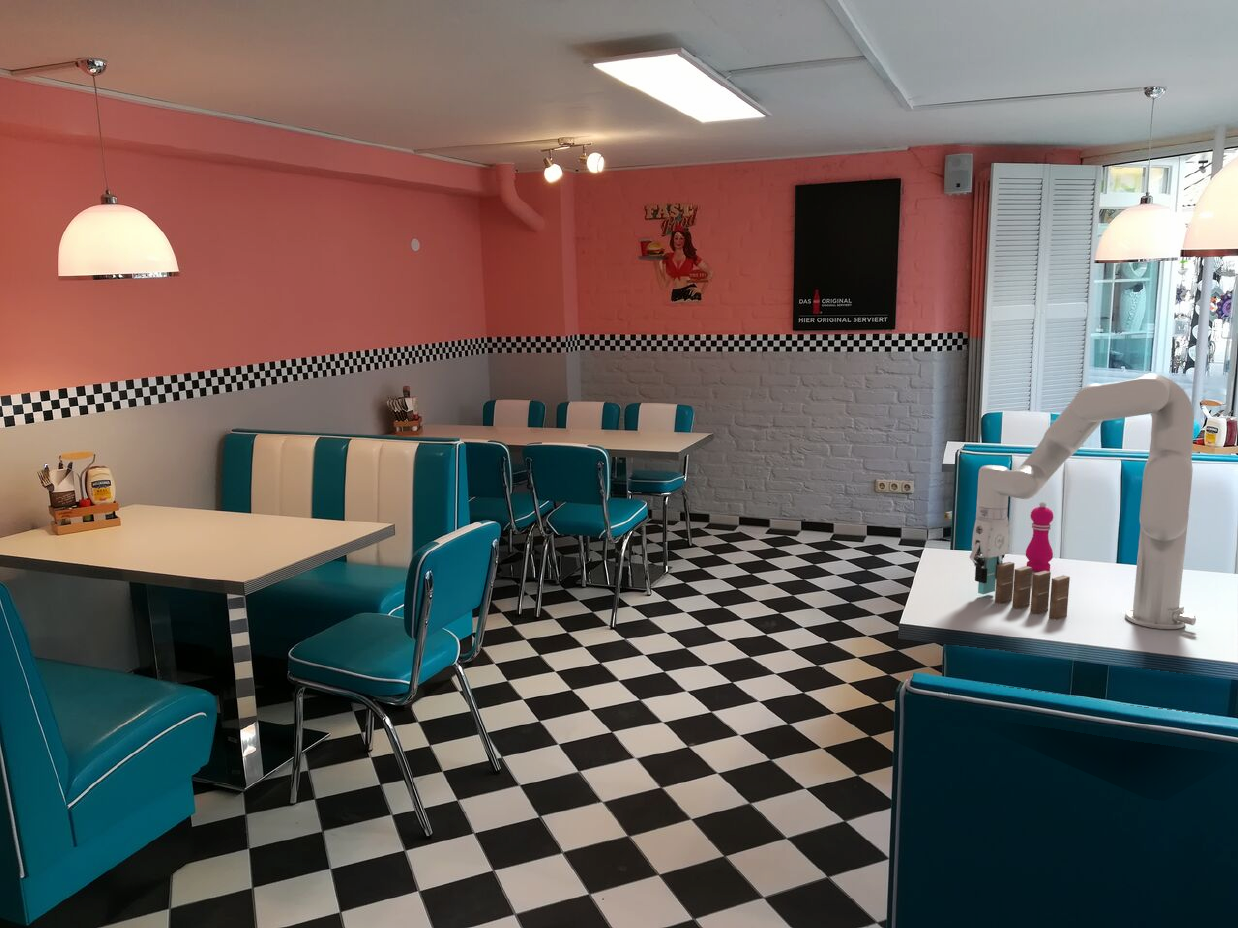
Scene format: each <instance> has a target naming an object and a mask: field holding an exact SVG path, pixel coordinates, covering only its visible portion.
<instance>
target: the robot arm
mask: <svg viewBox="0 0 1238 928" xmlns="http://www.w3.org/2000/svg"><path fill="white" fill-rule="evenodd" d="M1149 414H1150V416H1151V428H1150V430H1151V431H1150V443H1149V444H1150V445H1149V453H1148V458H1147V461H1146V463H1145V466H1144V468H1143V475H1142V476H1143V477H1142V488H1141V499H1140V507H1139V508H1140V510H1139V524H1140V530H1139V539H1138V551H1137V558H1136V559H1137V561H1136V569H1135V570H1136V571H1135V583H1134V592H1133V593H1134V594H1133V604H1132V608H1130V609H1128V610H1127V609H1126V611H1125V614H1124V617H1125V618H1126V620H1128V622H1131V623H1133V624H1136V625H1138V626H1143V627H1146V628H1151V629H1158V630H1178V629H1182V628H1184V627H1185V626H1186V625H1190V626H1195V625H1196V621H1197V619H1196V615H1195V614H1191V613H1186V612H1185V610H1184V608H1185V607H1184V605H1180V602H1181V593H1182V584H1183V580H1182V579H1183V572H1184V562H1185V553H1186V542H1187V534H1188V523H1189V514H1190V513H1189V510H1190V505H1191V504H1190V502H1191V501H1190V500H1191V493H1192V483H1193V481H1192V480H1193V462H1192V459H1193V458H1192V456H1193V455H1192V454H1193V446H1194V445H1193V444H1194V430H1195V429H1194V426H1195V425H1194V423H1195V418H1194V417H1195V415H1194V408H1193V405H1192V402H1191V400H1190V397H1189V395H1188V394H1187V393H1186V391H1185V390H1184V389H1183V388H1182V386H1180V384H1178V383H1176V382H1175V381H1173V380H1172V379H1170V378H1169V377H1166V376H1164V375H1162V374H1158V373H1146V374H1142V375H1141V376H1139V377H1137V378H1133V379H1127V380H1122V381H1117V382H1112V383H1106V384H1102V383H1090V384H1088V385H1085V386H1084V387H1083V388H1081V389H1080V390H1079V391H1077V393H1076V394H1075V396H1074V398H1073V399H1072V400H1071V401H1070V402H1069V404H1068V405H1067V406H1066V407H1065V409H1064V410H1062V412H1061V413H1060V414H1059V415H1058V417H1057V418H1055V420H1054V421H1053V422H1052V423H1051V424H1050V425H1049V427H1048V428H1047V429H1046V430H1045V433H1044V434H1043V437H1042V439H1041V440H1040V442H1039V444H1038V445H1037V446H1036V447H1035V448H1034V449H1033V451H1032V452H1031V453H1030V455H1029V456H1028V457H1027V458H1026V459H1025V460H1024V461H1023V462H1022V464H1021V465H1020V466H1019V467H1018V468H1017V469H1014V470H1013V469H1011V470H1010V469H1009V468H1008V467H1006V466H1003V465H998V464H997V465H995V464H993V465H992V464H988V465H987V464H986V465H982V466H981V467H980V468H979V470H978V478H977V491H976V492H977V493H976V495H977V496H976V497H977V498H976V512H975V521H974V526H973V531H972V540H971V553H970V555H969V559H970V560H971V561H972V562H973V565H974V567H975V570H974V571H975V573H974V581H975V582H978V583H979V582H981V583H987V570H988V569H987V568H986V565H987V561H988V559H989V558H994V557H997V565H998V564H1002V563H1004V561H1003V559H1004V558H1005V555H1007V554H1008V553H1009V551H1010V523H1009V518H1008V511H1009V510H1008V507H1009V497H1010V498H1013V499H1014V498H1016V499H1020V500H1027V499H1031V498H1034V496H1036V495H1037V494H1038V492H1040V490H1042V488H1043V487H1044V486H1045V485H1046V483H1047V482H1048V481H1049V480H1050V479H1051V478H1052V477H1053V476H1054V474H1055V473H1056V472H1057V471H1058V470H1059V469H1060V468H1061V466H1062V465H1063V464H1064V463H1065V462H1066V461H1067V460H1068V459H1069V458H1070V457H1072V455H1074V454H1076V453H1077V451H1078V450H1079V449H1080V448H1081V447H1082V446H1083V444H1084V443H1085V442H1086V441H1087V439H1089V438H1090V436H1092V434H1093V433H1094V432H1095V431H1096V430H1097V428H1099V426H1100V425H1101V424H1102V423H1103V422H1104V421H1111V420H1112V421H1113V420H1119V419H1125V418H1131V417H1137V416H1144V415H1149ZM980 558H983V562H982V561H981V560H980ZM997 565H996V576H997Z"/></svg>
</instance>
